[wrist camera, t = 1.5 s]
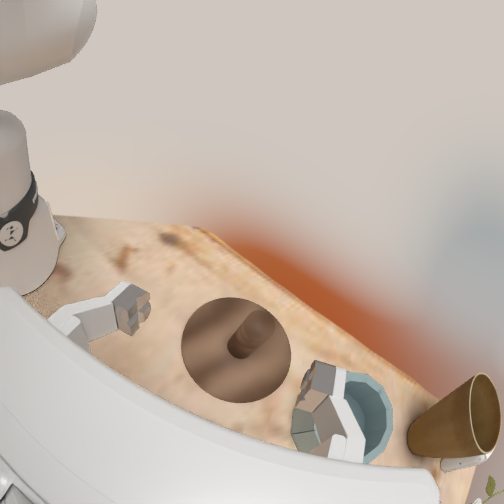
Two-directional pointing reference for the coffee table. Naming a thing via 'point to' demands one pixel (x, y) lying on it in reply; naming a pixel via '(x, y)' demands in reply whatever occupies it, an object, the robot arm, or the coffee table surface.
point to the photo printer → (462, 462)
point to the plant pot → (459, 422)
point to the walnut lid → (236, 350)
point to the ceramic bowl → (364, 410)
